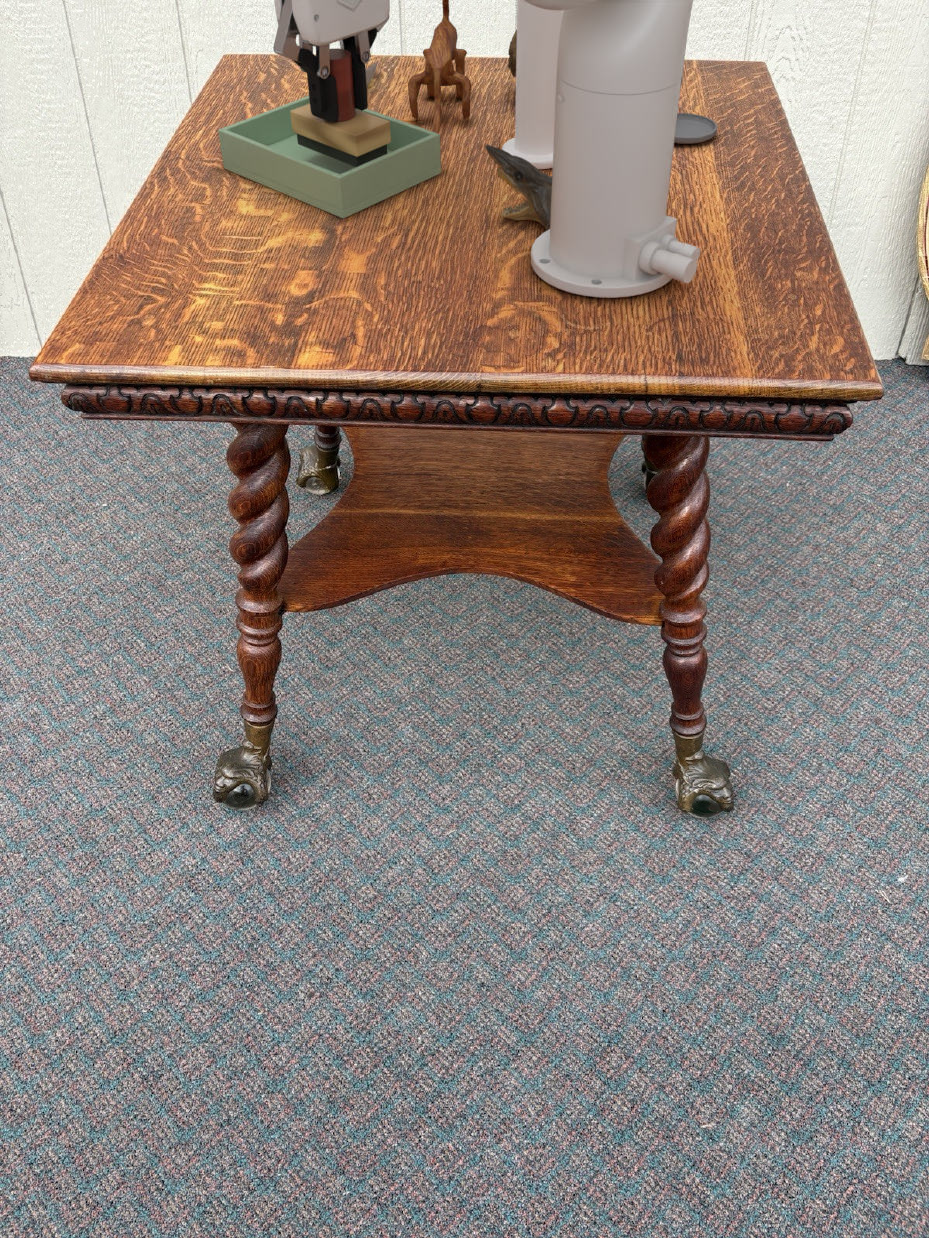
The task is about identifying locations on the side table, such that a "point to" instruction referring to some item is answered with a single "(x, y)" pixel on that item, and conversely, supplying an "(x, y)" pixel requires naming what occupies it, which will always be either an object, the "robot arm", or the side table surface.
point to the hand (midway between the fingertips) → (339, 110)
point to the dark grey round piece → (693, 128)
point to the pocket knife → (370, 72)
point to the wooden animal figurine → (442, 70)
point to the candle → (535, 84)
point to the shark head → (524, 187)
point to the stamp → (343, 122)
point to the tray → (327, 162)
